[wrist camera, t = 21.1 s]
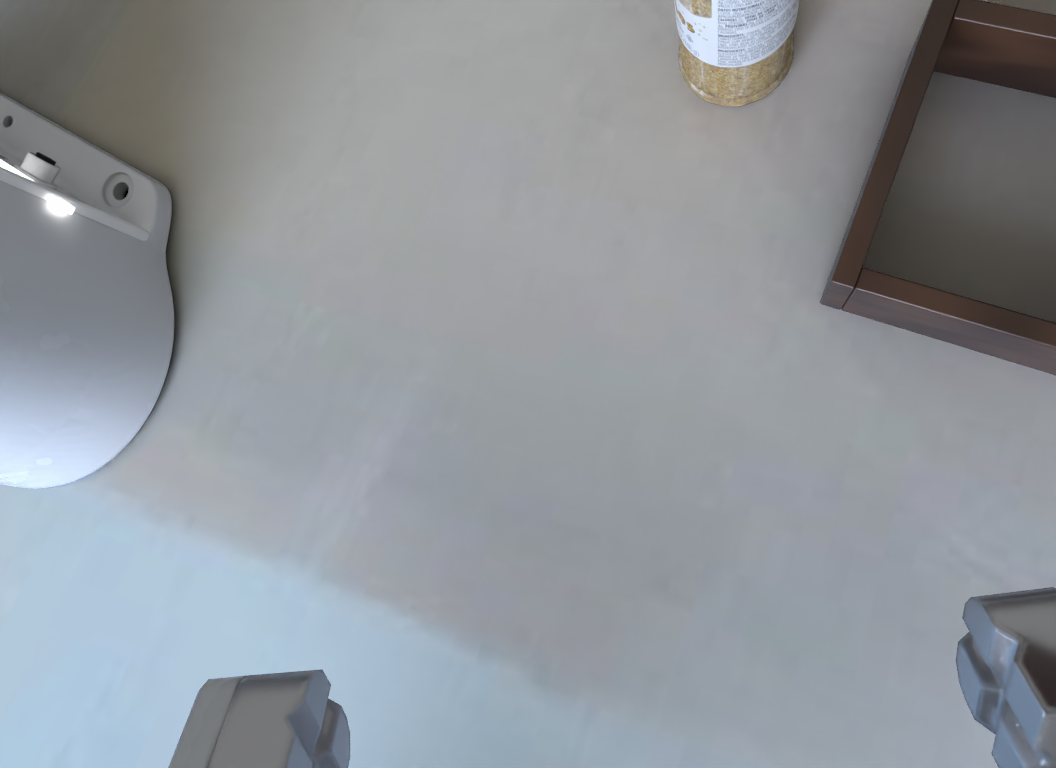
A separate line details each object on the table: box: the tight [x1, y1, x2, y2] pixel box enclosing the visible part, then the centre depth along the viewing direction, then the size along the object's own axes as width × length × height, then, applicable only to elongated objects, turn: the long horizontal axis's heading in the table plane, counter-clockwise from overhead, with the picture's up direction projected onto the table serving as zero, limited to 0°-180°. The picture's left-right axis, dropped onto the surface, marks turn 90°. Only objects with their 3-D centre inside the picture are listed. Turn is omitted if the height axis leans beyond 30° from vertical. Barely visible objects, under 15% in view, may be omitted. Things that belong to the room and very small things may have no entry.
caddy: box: [820, 0, 1056, 375], centre depth 29 cm, size 11×11×4 cm
